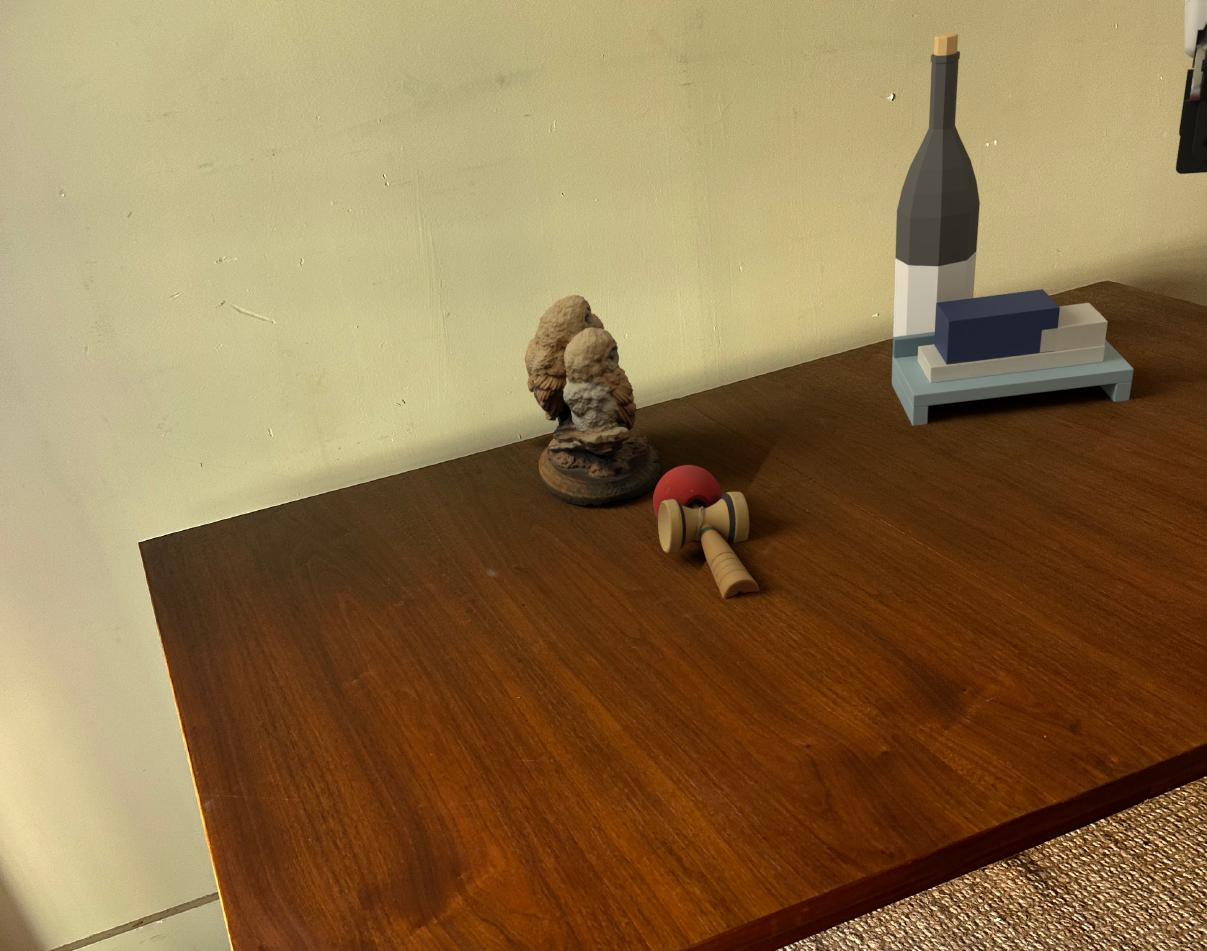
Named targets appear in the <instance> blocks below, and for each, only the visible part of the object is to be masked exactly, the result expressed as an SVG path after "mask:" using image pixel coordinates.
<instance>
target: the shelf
mask: <svg viewBox="0 0 1207 951" xmlns="http://www.w3.org/2000/svg"><path fill="white" fill-rule="evenodd" d="M1097 311H1098V310H1097ZM1098 312H1099V313H1100V314H1101V315H1102V316H1103V314H1102V313H1101V312H1100V311H1098ZM934 336H935V332H929V333H921V334H913V335H905V336H897V337H893V336H892V357H891V358H892V359H891V361H892V362H891V366H892V367H891V386H892V388H893V390H894V392H895V394H896V396H897V398H898V400H899V402H900V404H901V405H902V408H903V409H904V412H905V414H906V416H907V418H908V420H909V421H910V423H911V425H912V426H921V425H927V424H928V417H929V407H931V406H937V405H945V404H953V403H962V402H971V401H978V400H987V399H995V398H996V399H997V398H1005V397H1013V396H1020V395H1029V394H1037V393H1038V394H1039V393H1047V392H1054V391H1055V392H1056V391H1062V390H1063V391H1064V390H1071V389H1078V388H1079V389H1080V388H1088V387H1095V386H1099V387H1100V388H1101V389H1102V390H1103V391H1104V393H1105V394H1107V396H1108V397H1109V398H1110V400H1112V401H1113V403H1114V402H1115V403H1117V402H1126V401H1130V397H1131V389H1132V384H1133V383H1132V382H1133V377H1134V370H1135V369H1134V367H1132V365H1131V364H1130V363H1129V362H1128V361H1127V360H1126V359H1125V358H1124V357H1123V356H1122V354H1120V353H1119V352H1118V351H1117V350H1116V349H1115V347H1113V346H1112V345H1111V344H1110V342H1108V341H1107V339H1105V345H1104V346H1105V351H1104V358H1103V362H1099V363H1091V364H1082V365H1074V366H1066V367H1058V368H1050V369H1041V370H1033V371H1025V372H1017V373H1009V374H1000V375H992V376H984V377H976V378H968V379H959V380H951V381H943V382H935V383H930V382H929V380H928V378H927V377H926V375H925V373H924V371H923V370H922V368H921V366H920V364H919V363H918V346H925V345H933V344H934Z"/></svg>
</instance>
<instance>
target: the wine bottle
mask: <svg viewBox="0 0 1207 951" xmlns="http://www.w3.org/2000/svg"><path fill="white" fill-rule="evenodd" d="M958 38H959V34H958V33H955V32H947V33H941V34H937V35H935V36H934V41H933V42H934V44H933V45H934V46H933V53H932V54H931V55H930V63H931V67H930V92H929V115H928V120H929V121H928V129H927V131H926V133H925V135H924V138H923V140H922V142H921V144H920V145H919V148H918V149H917V152H915V155H914V157H913V159H912V161H911V163H910V165H909V167H908V171H907V173H906V176H905V179H904V182H903V184H902V188H901V191H900V196H899V200H898V204H897V208H896V221H895V222H896V225H895V226H896V228H895V258H894V259H895V260H894V261H895V262H894V263H895V265H894V294H893V295H894V296H893V297H894V299H893V333H892V338H893V337H897V336H905V335H913V334H921V333H929V332H935V316H936V303H938V302H946V301H954V300H962V299H970V298H974V295H975V294H974V293H975V277H976V264H977V250H978V237H979V236H978V234H979V221H980V220H979V219H980V205H981V202H980V195H979V187H978V182H977V177H976V174H975V170H974V166H973V164H972V159H971V157H970V155H969V154H968V151H967V149H966V147H965V145H964V143H963V141H962V138H961V136H960V134H959V132H958V129H957V127H956V116H957V99H958V98H957V96H958V79H959V63H960V62H959V60H960V58H961V51H958V42H959V39H958Z"/></svg>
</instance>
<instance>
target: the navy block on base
mask: <svg viewBox="0 0 1207 951" xmlns="http://www.w3.org/2000/svg"><path fill="white" fill-rule="evenodd" d="M1099 312H1100V311H1099ZM1099 312H1098V310H1097V309H1096V308H1095V307H1094V306H1093V305H1092V304H1091V303H1090V302H1084V303H1075V304H1067V305H1060V306H1059V305H1058V303H1056V301H1055V300H1053V298H1052V297H1051V296H1050V295H1049V294H1048V292H1046V291H1045V290H1044V289H1043V288H1041V289H1033V290H1026V291H1018V292H1010V293H1009V292H1008V293H1003V294H1002V293H1001V294H994V295H986V296H979V297H978V296H977V297H973V298H970V299H962V300H954V301H946V302H938V303H936V316H935V336H934V344H933V345H925V346H918V363H919V364H920V366H921V368H922V370H923V371H924V373H925V375H926V377H927V378H928V380H929V382H930V383H935V382H943V381H951V380H959V379H968V378H976V377H984V376H992V375H1000V374H1009V373H1017V372H1025V371H1033V370H1041V369H1050V368H1058V367H1066V366H1074V365H1082V364H1091V363H1099V362H1103V358H1104V351H1105V346H1104V345H1105V340H1106V337H1107V331H1108V325H1109V324H1108V323H1109V322H1108V320H1107V319H1106V318H1105V317H1104V316H1103V314H1102V313H1101V312H1100V313H1101V314H1102V315H1101V314H1100V313H1099Z"/></svg>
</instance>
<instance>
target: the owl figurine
mask: <svg viewBox="0 0 1207 951" xmlns="http://www.w3.org/2000/svg"><path fill="white" fill-rule="evenodd" d="M618 349H619V347H618V342H617V341H616V339H615V338H614V336H612V333H610V331H608V330H606V329H605V326H604V323H603V321H602V320H601V318H599V316H598V315H597V314H595V313H592V309H591V304H590V303H589V301H588V300H586V299H585V297H584V296H580V295H579V294H577V295H576V294H572V295H567V296H565V297H562V298H560V299H558V300H557V301H555V302H554V303H553V304H552V305H551V306H549V307H548V309H546V310H545V311H544V314H543V315H542V316H541V317H540V318H539V322H538V325H537V328H536V331H535V334H534V337H533V338H531V339H530V340H529V342H528V344H527V346H526V350H525V356H524V363H525V368H526V372H527V376H528V378H527V383H526V384H527V389H528V391H529V392H530V393H533V396H534V399H535V401H536V402H537V404H538V406H539V407H540V408H541V410H543V412H545V417H544V418H545V419H546V420H548V421H552V422H556V420H557V422H558V424H557V425H556V428H555V429H554V433H553V439H552V440H550V442H549V444H548V446H546V448H545V449H544V450H543V451H542V452H541V454H540V456H539V460H538V472H539V478H540V480H541V482H542V484H543V485H544V487H545V488H546V490H547V492H548V493H549V494H551V495H552V496H553V497H555V498H557V499H559V500H561V501H563V502H566V503H569V504H572V505H576V506H588V505H590V504H592V505H593V506H597V505H598V506H599V507H601V506H602V504H608V503H611V502H616V501H620V500H623V499H632V498H637V497H642V496H643V495H645V494H646V493H648V492H650V491H651V490H653V488H654V487H656V485H657V484H658V482H659V479H660V476H661V475H662V473H661V468H662V465H661V457H660V454H659V452H658V450H657V449H656V447H655V446H654V445H653V444H652V443H651V442H650V441H649V440H648V438H647V437H646V436H642V435H641V434H640V433H639V432H638V430H637V429H636V428H635V427H634V425H635V423H636V412H637V411H638V409H637V404H636V403H635V396H634V393H633V392H634V389H633V385H632V383H631V382H630V380H629V377H628V375H627V374H626V370H625V369H623V368H622V367H621V366H620V364H619V361H620V355H619V352H618ZM596 455H601V456H604V457H602V458H601V457H598V456H596Z"/></svg>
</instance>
